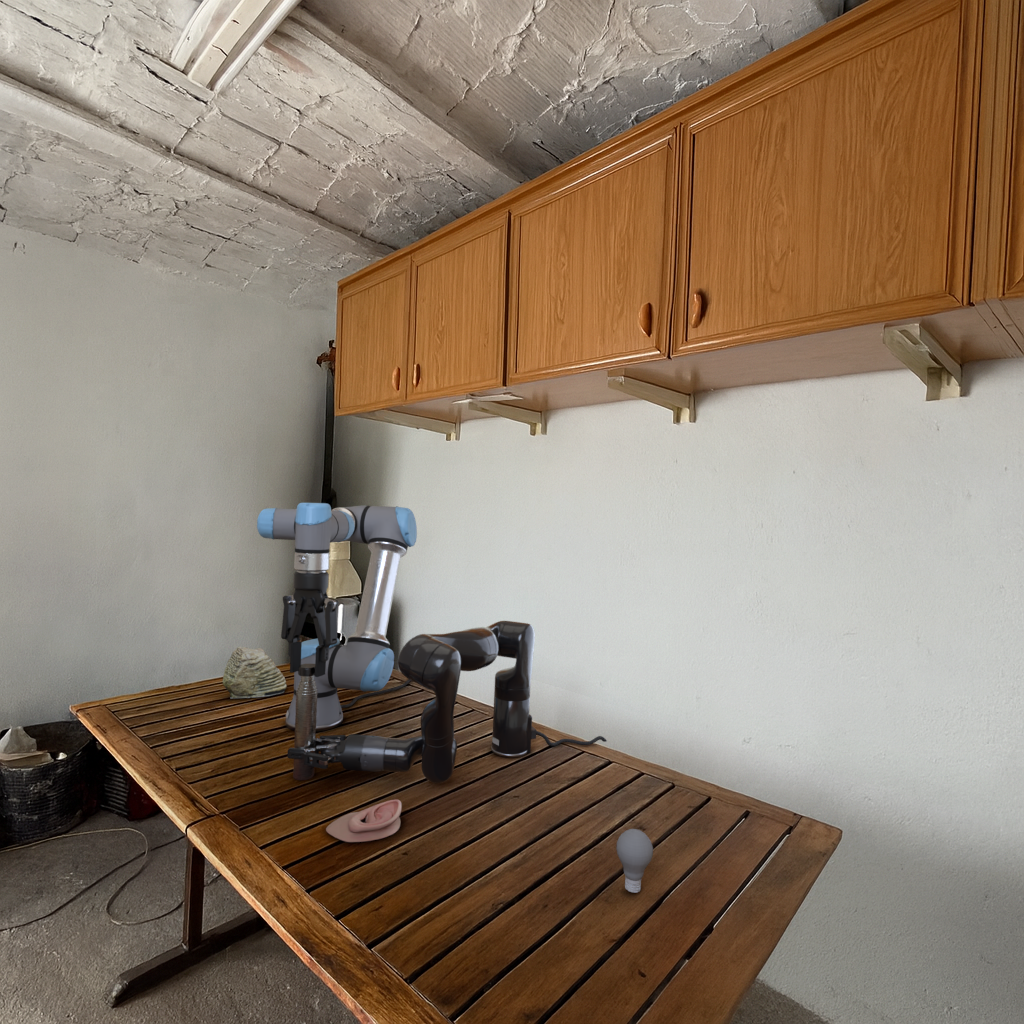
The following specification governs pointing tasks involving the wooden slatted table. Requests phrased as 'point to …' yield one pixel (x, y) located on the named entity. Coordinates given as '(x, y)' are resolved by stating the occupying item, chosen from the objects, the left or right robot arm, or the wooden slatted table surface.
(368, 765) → the right robot arm
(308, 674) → the cap
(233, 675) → the fossil
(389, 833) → the anatomical model
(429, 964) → the wooden slatted table surface
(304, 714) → the bottle
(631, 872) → the light bulb
